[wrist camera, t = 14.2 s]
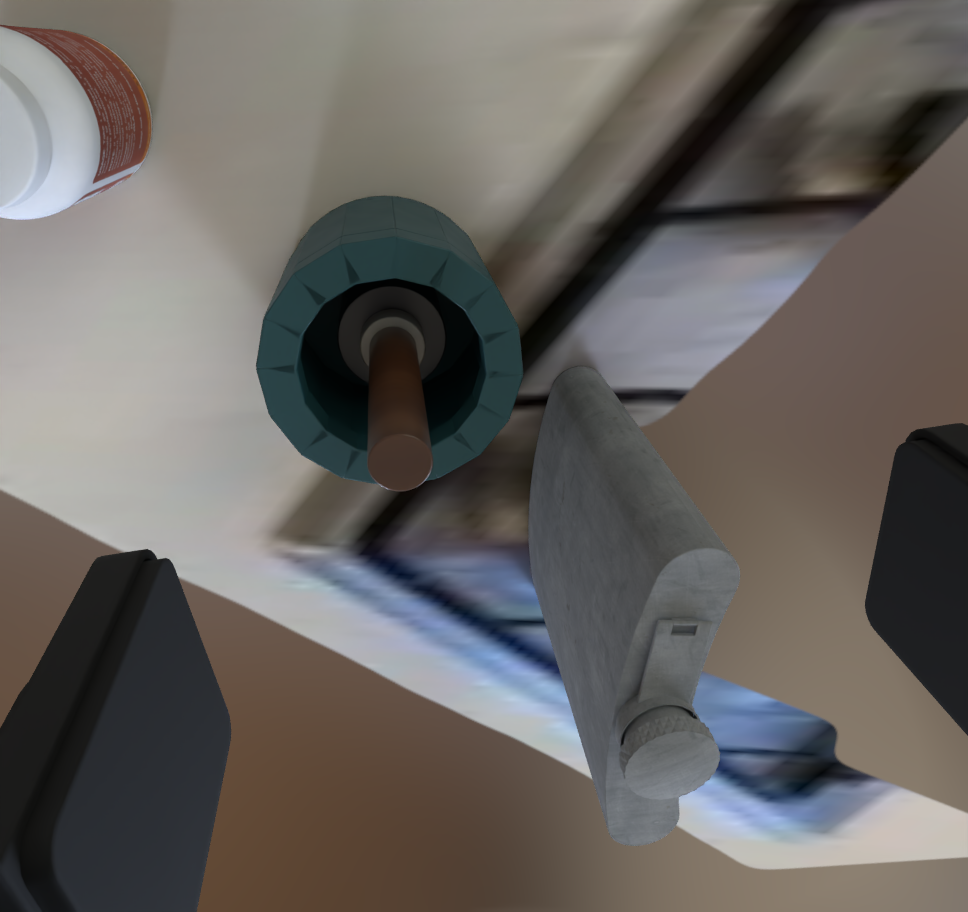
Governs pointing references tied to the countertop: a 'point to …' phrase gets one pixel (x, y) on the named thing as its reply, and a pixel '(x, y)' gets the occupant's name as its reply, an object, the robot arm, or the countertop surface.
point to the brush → (394, 372)
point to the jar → (314, 324)
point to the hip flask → (625, 603)
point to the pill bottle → (65, 121)
